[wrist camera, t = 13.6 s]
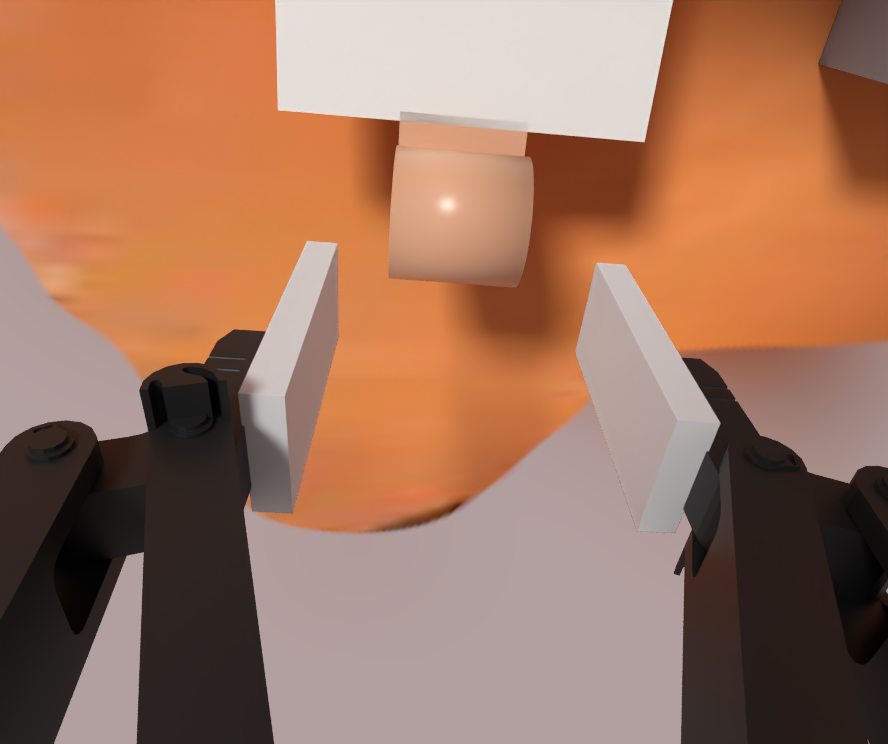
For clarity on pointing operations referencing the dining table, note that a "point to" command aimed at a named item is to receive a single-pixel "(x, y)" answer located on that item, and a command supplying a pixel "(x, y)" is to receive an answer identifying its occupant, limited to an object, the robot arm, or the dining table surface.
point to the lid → (471, 106)
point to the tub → (859, 40)
